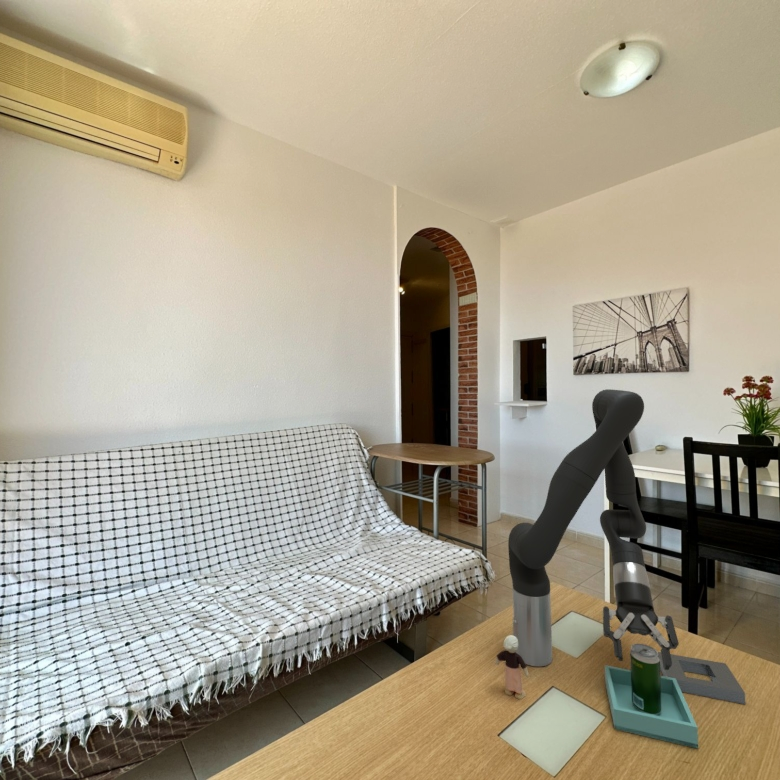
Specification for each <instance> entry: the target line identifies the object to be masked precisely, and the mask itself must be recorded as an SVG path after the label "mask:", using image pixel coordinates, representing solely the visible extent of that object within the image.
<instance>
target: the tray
mask: <svg viewBox="0 0 780 780" xmlns="http://www.w3.org/2000/svg"><path fill="white" fill-rule="evenodd" d="M660 679H661V709H662V710H661V712H660V714H659V715H657V716H656V715H652V714H647V713H642V712H639V711H638V710H637V709H636V708H635V707H634V705H633V703H632V692H631V669H627V668H622V667H616V666H611V665H606V664H605V665H604V680H605V681H604V683H605V688H606V693H607V698H608V703H609V708H610V712H611V717H612V724H613V728H614V730H617V731H621V732H626V733H629V734H634V735H639V736H642V737H646V738H652V739H655V740H659V741H662V742H663V741H664V742H668V743H672V744H677V745H680V746H685V747H689V748H690V747H691V748H694V749H699V731H698V726H697V723H696V721H695V719H694V716H693V714H692V713H691V709H690V708H689V705H688V703H687V701H686V698H685V696H684V694H683V692H681V689H680V687H679V685H678V683H677V680H676V678H671V677H665V676H663V675H660Z"/></svg>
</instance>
